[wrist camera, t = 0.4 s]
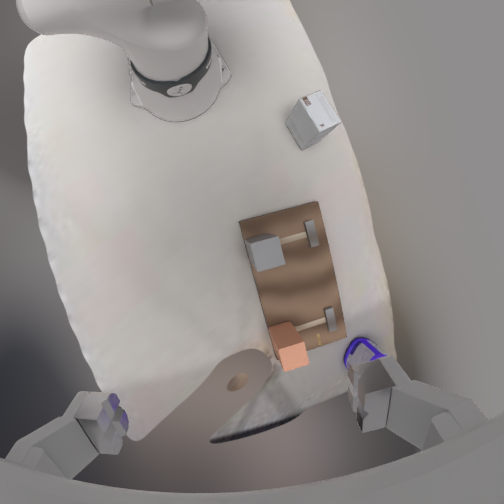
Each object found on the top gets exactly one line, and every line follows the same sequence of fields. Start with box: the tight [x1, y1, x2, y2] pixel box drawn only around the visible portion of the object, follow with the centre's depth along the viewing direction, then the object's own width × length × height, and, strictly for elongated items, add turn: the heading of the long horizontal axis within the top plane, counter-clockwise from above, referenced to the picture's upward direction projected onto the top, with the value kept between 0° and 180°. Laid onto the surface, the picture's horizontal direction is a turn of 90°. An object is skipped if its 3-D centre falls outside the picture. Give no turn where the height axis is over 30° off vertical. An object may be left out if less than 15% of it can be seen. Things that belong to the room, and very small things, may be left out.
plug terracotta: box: [268, 321, 309, 372], centre depth 50 cm, size 4×4×10 cm
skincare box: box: [286, 90, 341, 150], centre depth 47 cm, size 6×4×12 cm
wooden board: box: [239, 202, 347, 360], centre depth 54 cm, size 26×14×3 cm, turn 15°
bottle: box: [344, 338, 388, 369], centre depth 50 cm, size 7×6×17 cm
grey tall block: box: [244, 233, 285, 272], centre depth 48 cm, size 4×4×10 cm
